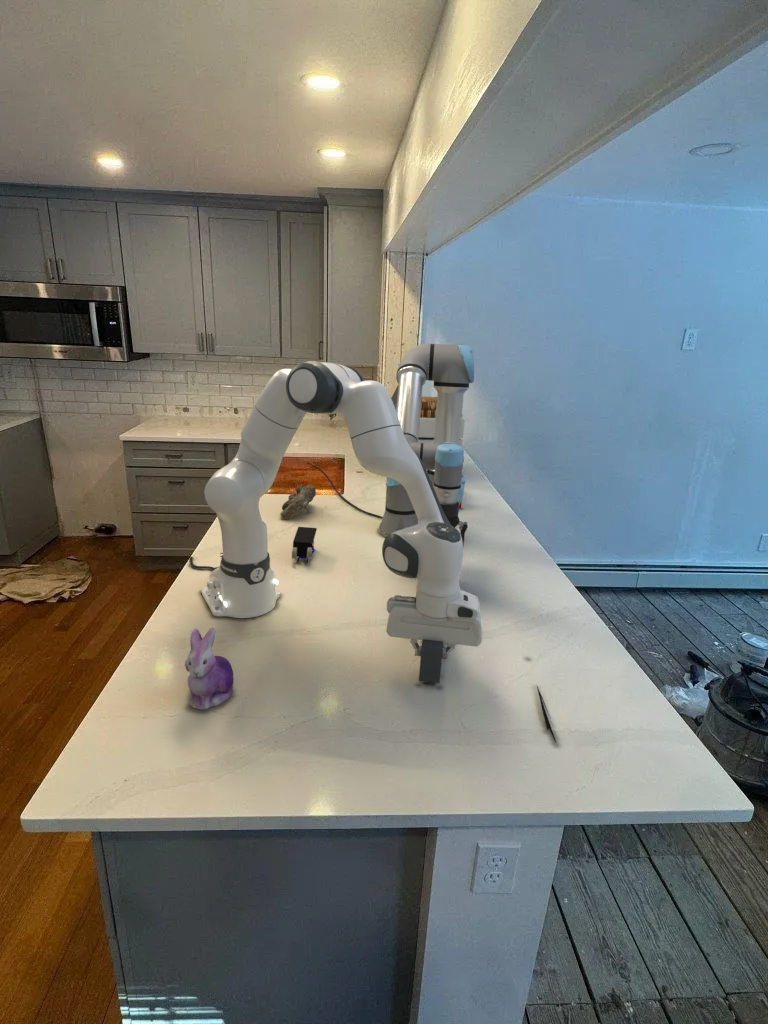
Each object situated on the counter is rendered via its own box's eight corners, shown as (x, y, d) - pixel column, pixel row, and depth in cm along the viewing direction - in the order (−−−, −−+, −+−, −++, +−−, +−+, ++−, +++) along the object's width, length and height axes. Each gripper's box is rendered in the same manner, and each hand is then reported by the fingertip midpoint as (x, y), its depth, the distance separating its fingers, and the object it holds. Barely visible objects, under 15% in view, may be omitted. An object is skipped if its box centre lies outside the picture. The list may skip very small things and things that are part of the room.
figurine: (192, 718, 107) (185, 650, 102) (183, 687, 116) (177, 623, 111) (241, 704, 111) (238, 639, 106) (229, 675, 120) (225, 613, 115)
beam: (432, 575, 170) (434, 548, 168) (446, 576, 170) (449, 550, 167) (418, 681, 120) (421, 646, 117) (439, 683, 119) (442, 648, 117)
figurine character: (313, 570, 172) (317, 545, 186) (312, 548, 169) (317, 525, 182) (290, 569, 172) (297, 545, 186) (290, 548, 169) (296, 524, 182)
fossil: (285, 490, 226) (313, 470, 221) (301, 508, 229) (329, 489, 224) (270, 515, 206) (301, 493, 201) (287, 534, 209) (318, 513, 204)
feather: (528, 662, 131) (533, 656, 131) (556, 747, 105) (562, 740, 104) (522, 659, 131) (527, 652, 130) (548, 742, 104) (555, 735, 104)
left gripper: (385, 601, 116) (382, 658, 121) (486, 612, 114) (478, 670, 119) (389, 587, 122) (385, 642, 127) (485, 597, 120) (478, 653, 125)
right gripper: (413, 502, 155) (408, 578, 163) (478, 507, 153) (470, 584, 161) (415, 493, 162) (410, 567, 170) (477, 498, 160) (469, 573, 168)
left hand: (431, 656), depth 123 cm, fingers closed on beam, 4 cm apart
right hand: (439, 575), depth 165 cm, fingers open, 5 cm apart
